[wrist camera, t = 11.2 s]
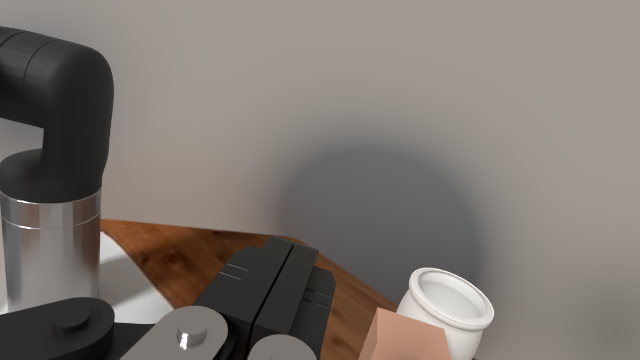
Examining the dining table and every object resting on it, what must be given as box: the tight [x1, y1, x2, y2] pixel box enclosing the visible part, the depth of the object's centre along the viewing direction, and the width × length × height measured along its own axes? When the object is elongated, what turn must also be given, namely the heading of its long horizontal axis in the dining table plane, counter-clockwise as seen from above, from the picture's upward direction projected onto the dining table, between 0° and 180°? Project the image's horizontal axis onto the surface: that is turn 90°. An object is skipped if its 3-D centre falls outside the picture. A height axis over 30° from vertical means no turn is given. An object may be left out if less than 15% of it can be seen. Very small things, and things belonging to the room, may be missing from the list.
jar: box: [396, 268, 494, 360], centre depth 45 cm, size 11×10×15 cm
